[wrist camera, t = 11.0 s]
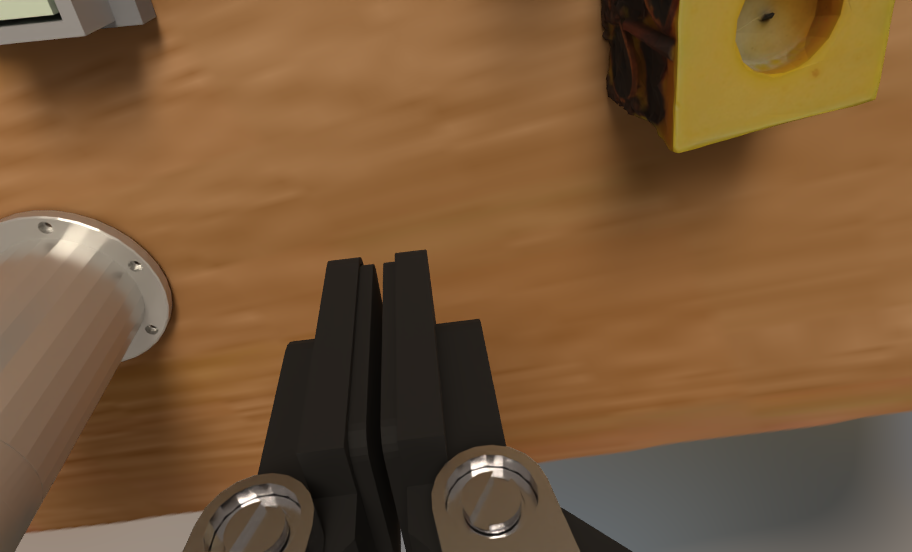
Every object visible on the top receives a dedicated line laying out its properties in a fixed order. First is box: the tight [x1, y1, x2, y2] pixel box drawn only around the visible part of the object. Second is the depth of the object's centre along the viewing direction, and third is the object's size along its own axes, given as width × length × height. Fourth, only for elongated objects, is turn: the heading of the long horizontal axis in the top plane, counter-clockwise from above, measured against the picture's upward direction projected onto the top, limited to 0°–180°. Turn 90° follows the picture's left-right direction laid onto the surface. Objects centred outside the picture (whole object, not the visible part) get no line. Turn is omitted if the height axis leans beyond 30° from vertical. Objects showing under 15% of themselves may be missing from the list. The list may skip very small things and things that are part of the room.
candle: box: [601, 0, 895, 153], centre depth 29 cm, size 10×10×10 cm
